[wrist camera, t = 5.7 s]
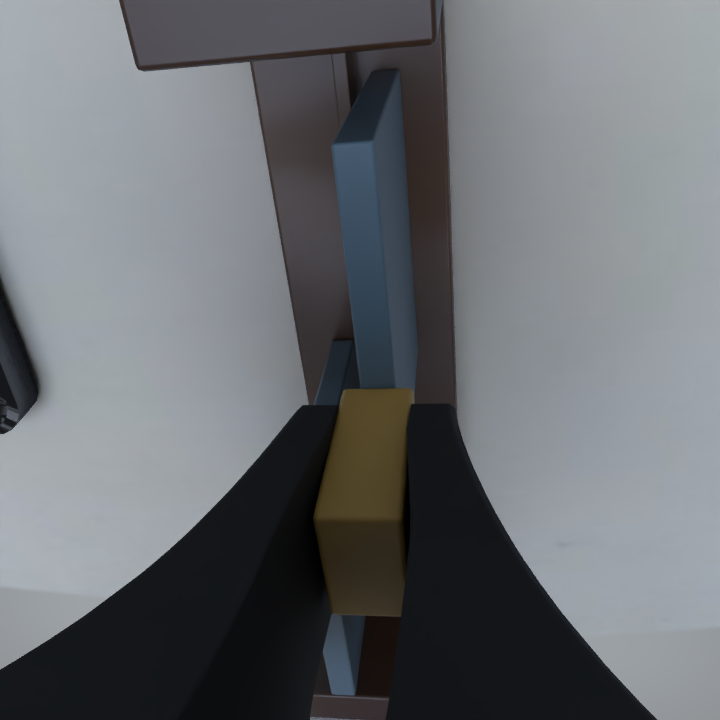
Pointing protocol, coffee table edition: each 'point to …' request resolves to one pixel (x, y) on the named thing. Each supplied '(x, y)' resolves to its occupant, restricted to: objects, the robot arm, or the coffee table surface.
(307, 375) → the window frame
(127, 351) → the coffee table surface
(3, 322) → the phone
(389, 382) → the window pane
